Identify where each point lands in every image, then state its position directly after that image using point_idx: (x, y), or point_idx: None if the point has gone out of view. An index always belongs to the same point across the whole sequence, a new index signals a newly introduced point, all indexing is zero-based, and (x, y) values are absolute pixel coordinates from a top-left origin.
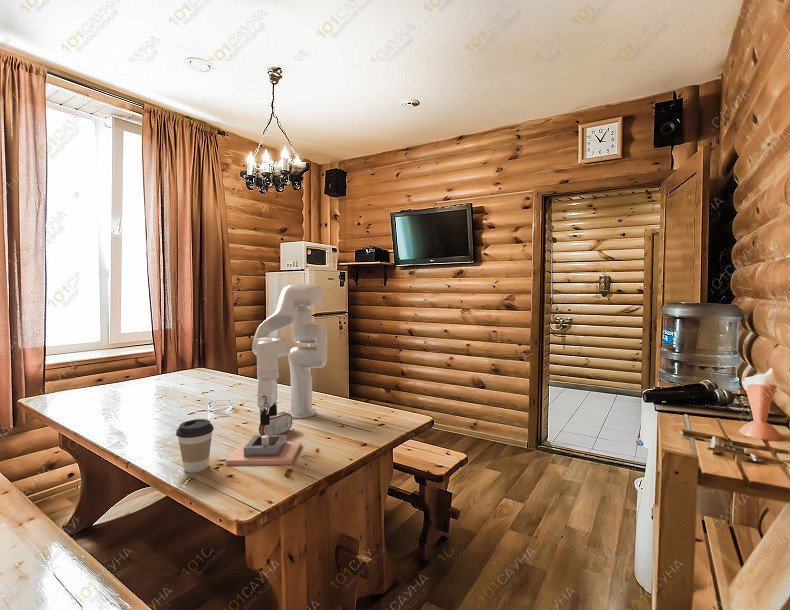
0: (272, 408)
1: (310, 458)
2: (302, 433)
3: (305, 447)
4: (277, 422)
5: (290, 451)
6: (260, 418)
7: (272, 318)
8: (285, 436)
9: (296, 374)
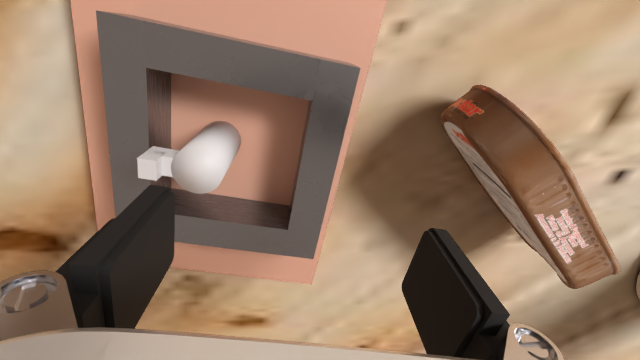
0: (441, 324)
1: (173, 303)
2: None
3: (287, 285)
4: (515, 210)
5: (200, 251)
6: (110, 225)
7: None
8: (290, 254)
9: None
